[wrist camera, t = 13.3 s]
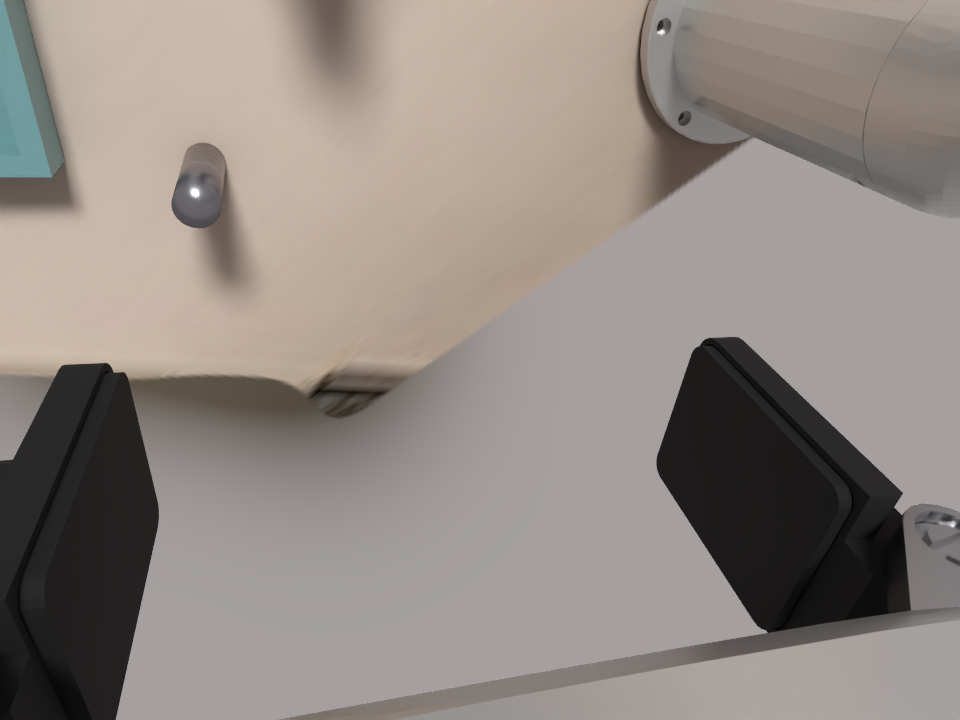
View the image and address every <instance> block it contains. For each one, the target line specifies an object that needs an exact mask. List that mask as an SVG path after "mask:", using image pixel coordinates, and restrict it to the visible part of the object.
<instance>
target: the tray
mask: <svg viewBox="0 0 960 720" xmlns="http://www.w3.org/2000/svg"><path fill="white" fill-rule="evenodd" d="M63 163H64V157H63V153H62V149H61V145H60V142H59V138H58V134H57V130H56V126H55V122H54V118H53V114H52V111H51V107H50V103H49V99H48V95H47V91H46V87H45V83H44V80H43V76H42V72H41V68H40V64H39V60H38V56H37V52H36V49H35V45H34V41H33V37H32V33H31V29H30V25H29V21H28V17H27V14H26V10H25V6H24V2H23V0H0V177H53V175H54V174H55V173H56V172H57V170H58V169H59V168H60V166H61V165H62V164H63Z"/></svg>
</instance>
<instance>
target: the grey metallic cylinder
mask: <svg viewBox="0 0 960 720" xmlns="http://www.w3.org/2000/svg"><path fill="white" fill-rule="evenodd" d="M225 168H226V162H225V158H224V156H223V154H222V153H221V151H220V150H219V149H218V148H216V147H215V146H213V145H211V144H207V143H197V144H194V145H192V146H191V147H190V148H189V149H188V150H187V151H186V154H185V157H184V160H183V164H182V167H181V170H180V174H179V177H178V181H177V184H176V187H175V191H174V194H173V198H172V204H171V205H172V210H173V213H174V214H175V216H176V217H177V218H178V220H180V221H181V222H182V223H183V224H185V225H187V226H190V227H193V228H204V227H208V226H210V225H212V224H213V223H214V222H215V221H216V220H217V219H218V217H219V215H220V209H221V201H222V193H223V184H224V176H225Z"/></svg>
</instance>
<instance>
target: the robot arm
mask: <svg viewBox="0 0 960 720" xmlns="http://www.w3.org/2000/svg"><path fill="white" fill-rule="evenodd" d="M659 22H660V25H659V27H658V28H657V25H658V23H659ZM640 57H641V71H642V78H643V81H644V85H645V89H646V93H647V96H648V98H649V100H650V102H651V104H652V106H653V108H654V110H655V111H656V113H657V114H658V115H659V116H660V118H661V119H662V120H663V121H664V122H665V124H667V125H668V126H669V127H671V128H672V129H673V130H675V131H676V132H677V133H679V134H681V135H683V136H685V137H687V138H689V139H691V140H694V141H698V142H701V143H705V144H729V143H734V142H739V141H742V140H745V139H747V138H750V137H752V136H753V137H755V138H757V139H760V140H762V141H764V142H766V143H769V144H771V145H773V146H775V147H778V148H780V149H782V150H784V151H786V152H789V153H791V154H793V155H795V156H798V157H800V158H802V159H804V160H807V161H809V162H811V163H813V164H815V165H818V166H820V167H822V168H824V169H827V170H829V171H831V172H833V173H835V174H838V175H840V176H842V177H844V178H847V179H849V180H851V181H853V182H855V183H857V184H860V185H862V186H864V187H867V188H869V189H871V190H873V191H875V192H878V193H880V194H882V195H884V196H886V197H889V198H891V199H893V200H895V201H898V202H900V203H902V204H905V205H907V206H909V207H912V208H914V209H917V210H919V211H922V212H925V213H928V214H932V215H936V216H942V217H946V218H960V0H650V3H649V5H648V9H647V13H646V17H645V21H644V25H643V29H642V39H641V50H640ZM657 470H658V473H659V475H660V477H661V479H662V480H663V482H664V484H665V485H666V486H667V488H668V490H669V491H670V493H671V494H672V496H673V497H674V499H675V501H676V502H677V504H678V505H679V507H680V508H681V510H682V511H683V513H684V514H685V516H686V517H687V519H688V520H689V522H690V524H691V525H692V527H693V528H694V530H695V531H696V533H697V534H698V536H699V537H700V539H701V541H702V542H703V544H704V545H705V547H706V548H707V549H708V551H709V553H710V554H711V556H712V558H713V559H714V561H715V562H716V564H717V565H718V567H719V568H720V570H721V571H722V573H723V574H724V576H725V578H726V579H727V580H728V582H729V583H730V585H731V587H732V588H733V590H734V591H735V593H736V595H737V596H738V598H739V599H740V600H741V602H742V604H743V605H744V607H745V608H746V610H747V611H748V613H749V614H750V616H751V618H752V619H753V620H754V622H755V623H756V624H757V626H759V627H760V628H761V629H764V630H766V631H767V632H768V633H766V634H759V635H754V636H748V637H742V638H736V639H731V640H724V641H718V642H712V643H707V644H700V645H695V646H689V647H683V648H677V649H672V650H666V651H660V652H654V653H648V654H643V655H637V656H632V657H625V658H620V659H614V660H608V661H603V662H597V663H591V664H585V665H580V666H574V667H568V668H563V669H557V670H551V671H546V672H540V673H535V674H529V675H523V676H518V677H512V678H506V679H500V680H495V681H489V682H484V683H479V684H472V685H467V686H461V687H456V688H450V689H445V690H439V691H434V692H428V693H423V694H417V695H412V696H406V697H401V698H395V699H390V700H384V701H378V702H373V703H367V704H362V705H356V706H351V707H345V708H340V709H334V710H329V711H323V712H318V713H312V714H307V715H302V716H296V717H291V718H286V719H281V720H960V513H959V512H957V511H955V510H952V509H949V508H946V507H942V506H938V505H932V504H931V505H930V504H919V505H914V506H911V507H910V508H908V509H907V510H906V511H905V512H904V514H903V515H901V514H900V513H899V512H898V511H897V510H896V509H895V508H894V506H895V505H896V503H897V502H898V500H899V499H900V497H901V495H902V494H903V493H902V492H901V491H900V490H899V489H898V488H897V487H896V486H895V485H894V484H893V483H892V482H891V481H890V480H889V479H888V478H886V477H885V475H884V474H882V473H881V472H880V471H879V470H878V469H877V468H876V467H875V466H874V465H873V464H872V463H871V462H870V461H869V460H868V459H867V458H866V457H865V456H864V455H862V454H861V453H860V452H859V451H858V450H857V449H856V448H855V447H854V446H853V445H852V444H851V443H850V442H849V441H848V440H847V439H846V438H845V437H844V436H843V435H842V434H841V433H839V432H838V431H837V430H836V429H835V428H834V427H833V426H832V425H831V424H830V423H829V422H828V421H827V420H826V419H825V418H824V417H823V416H822V415H821V414H820V413H819V412H818V411H816V410H815V409H814V408H813V407H812V406H811V405H810V404H809V403H808V402H807V401H806V400H805V399H804V398H803V397H802V396H801V395H800V394H799V393H797V391H795V390H794V389H793V388H792V387H791V386H790V385H789V384H788V383H787V382H786V381H785V380H784V379H783V378H782V377H781V376H780V375H779V374H778V373H776V371H775V370H773V369H772V368H771V367H770V366H769V365H768V364H767V363H766V362H765V361H764V360H763V359H762V358H761V357H760V356H759V355H758V354H757V353H756V352H755V351H754V350H752V349H751V348H750V347H749V346H748V345H747V344H746V343H745V342H744V341H743V340H742V339H740V338H737V337H726V338H708V339H705V340H704V341H703V342H702V344H701V345H700V346H699V347H697V348H695V349H694V350H693V353H692V355H691V358H690V361H689V364H688V367H687V370H686V372H685V375H684V378H683V381H682V384H681V387H680V390H679V393H678V396H677V399H676V402H675V405H674V408H673V411H672V414H671V417H670V420H669V423H668V426H667V429H666V432H665V435H664V438H663V441H662V444H661V447H660V450H659V453H658V456H657ZM158 520H159V509H158V501H157V497H156V493H155V489H154V485H153V481H152V476H151V472H150V468H149V464H148V460H147V456H146V451H145V447H144V443H143V439H142V435H141V431H140V426H139V422H138V418H137V414H136V410H135V406H134V401H133V397H132V393H131V389H130V385H129V381H128V378H127V376H126V374H125V373H124V372H120V373H113V370H112V368H111V366H110V365H109V364H107V363H98V364H74V365H63V366H61V368H60V369H59V371H58V373H57V375H56V377H55V378H54V380H53V382H52V384H51V387H50V388H49V390H48V392H47V394H46V396H45V398H44V400H43V402H42V404H41V406H40V408H39V410H38V412H37V414H36V416H35V418H34V420H33V422H32V424H31V426H30V428H29V430H28V432H27V434H26V435H25V437H24V439H23V441H22V443H21V445H20V447H19V449H18V451H17V453H16V455H15V457H14V459H13V460H5V461H0V720H116V715H117V711H118V706H119V702H120V697H121V692H122V688H123V683H124V679H125V674H126V670H127V665H128V660H129V655H130V651H131V647H132V642H133V637H134V633H135V629H136V624H137V619H138V615H139V610H140V606H141V601H142V597H143V592H144V587H145V583H146V578H147V574H148V569H149V564H150V560H151V555H152V550H153V546H154V542H155V537H156V533H157V528H158Z"/></svg>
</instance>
